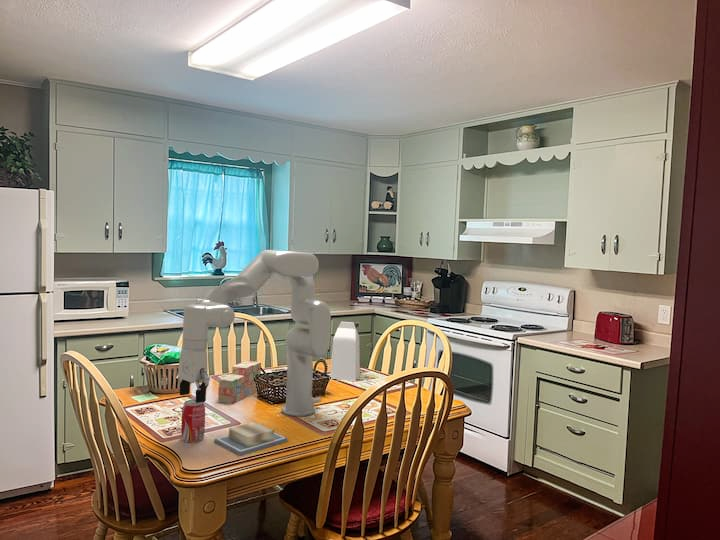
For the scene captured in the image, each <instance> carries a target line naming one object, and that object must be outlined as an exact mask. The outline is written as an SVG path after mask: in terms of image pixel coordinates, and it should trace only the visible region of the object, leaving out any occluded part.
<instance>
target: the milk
mask: <svg viewBox="0 0 720 540" xmlns="http://www.w3.org/2000/svg"><path fill="white" fill-rule="evenodd" d="M360 355H361V354H360V334H359V333H358V330H357V328H356V324H355V322H353V321H352V322H351V321H350V322H349V321H340V323H339V325H338V327H337V329H336V331H335V333H334V336H333V339H332V347H331V359H330V369H329V378H330V377H331V379H338V380H337V381H339V380H354V381H355V380H356V379H357V378H358V379H359V377H360V376H359V375H360V374H361V373H360V369H361V368H360V367H361V365H360V362H361V361H360ZM358 376H359V377H358ZM358 379H357V380H358ZM357 380H356V381H357Z"/></svg>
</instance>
